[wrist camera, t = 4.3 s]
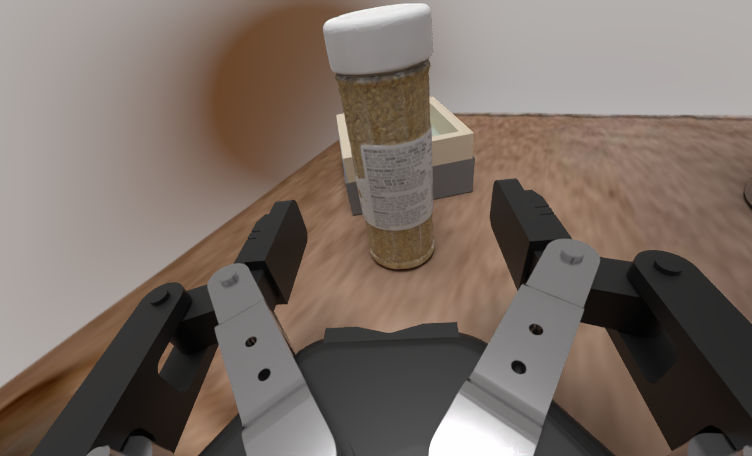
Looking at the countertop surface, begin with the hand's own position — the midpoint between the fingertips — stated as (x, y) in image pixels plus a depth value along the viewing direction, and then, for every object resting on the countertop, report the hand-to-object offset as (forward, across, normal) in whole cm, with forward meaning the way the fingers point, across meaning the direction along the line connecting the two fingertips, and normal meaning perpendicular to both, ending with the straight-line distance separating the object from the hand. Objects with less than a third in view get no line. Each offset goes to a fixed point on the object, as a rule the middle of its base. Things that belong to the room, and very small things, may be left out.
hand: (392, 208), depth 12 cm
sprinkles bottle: (+5, 0, +7) cm, 9 cm away
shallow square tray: (+15, 0, +7) cm, 17 cm away
